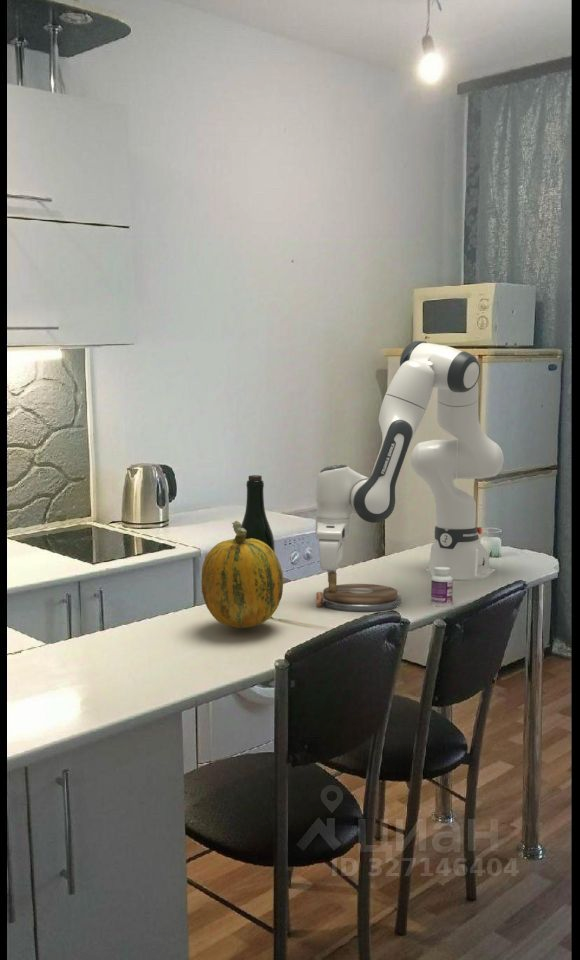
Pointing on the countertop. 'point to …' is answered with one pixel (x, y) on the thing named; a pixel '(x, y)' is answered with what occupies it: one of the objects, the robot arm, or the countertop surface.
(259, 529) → the wine bottle
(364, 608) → the turntable base
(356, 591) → the turntable
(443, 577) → the pill bottle
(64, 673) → the countertop surface
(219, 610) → the pumpkin
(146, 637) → the countertop surface
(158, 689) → the countertop surface
